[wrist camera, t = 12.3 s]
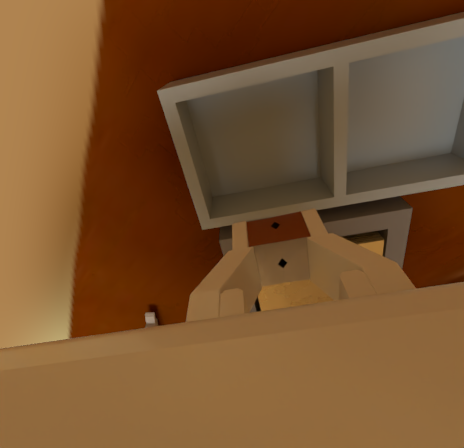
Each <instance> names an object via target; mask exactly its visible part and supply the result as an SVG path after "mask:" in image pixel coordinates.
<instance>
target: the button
mask: <svg viewBox="0 0 464 448" xmlns="http://www.w3.org/2000/svg"><path fill="white" fill-rule="evenodd" d="M341 237H342V238H344V239H347V240H349V241H351V242H353V243H355V244H357V245H360V246H362V247H364V248H366V249H368V250H370V251H373V252H375V253H377V254H379V255H381V256H382V255H383V247H384V239H383V238H382V236H381V235H380V234H379V232H378V231H372V232H366V233H360V234H354V235H347V236H341ZM258 299H259V304H260V308H261V311H266V310H273V309H280V308H286V307H293V306H300V305H307V304H314V303H321V302H327V301H334V300H333V299H332V298H331V297H329V296H328V295H327V294H326V293H325V292H323V291H322V290H321V289H320V288H319V287H317V286H316V285H315V284H314V283H313V282H311V281H310V279H309V280H301V281H293V282H285V283H280V284H274V285H269V286H264V287H262V289H261V291H260V293H259V295H258Z"/></svg>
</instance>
